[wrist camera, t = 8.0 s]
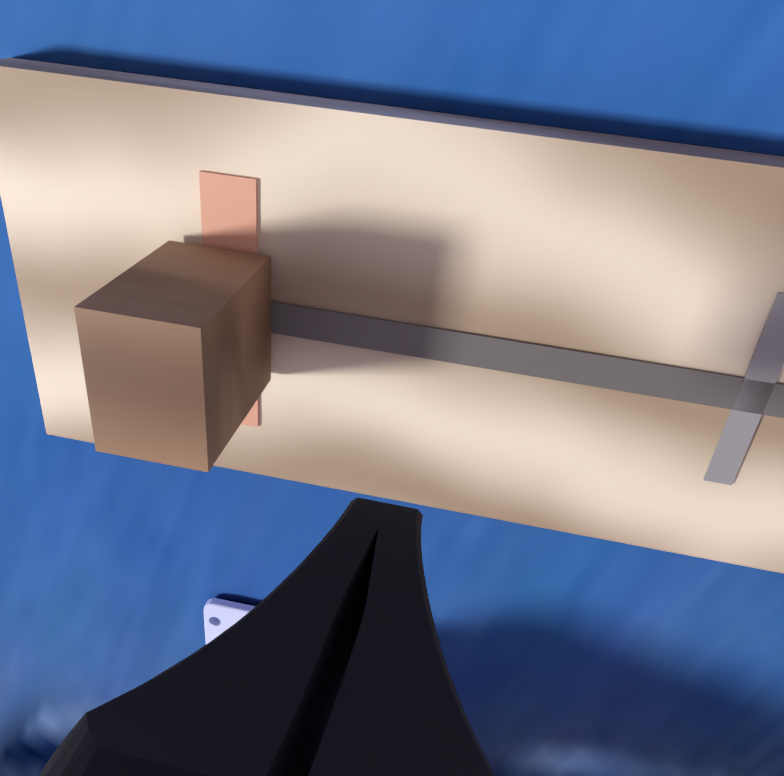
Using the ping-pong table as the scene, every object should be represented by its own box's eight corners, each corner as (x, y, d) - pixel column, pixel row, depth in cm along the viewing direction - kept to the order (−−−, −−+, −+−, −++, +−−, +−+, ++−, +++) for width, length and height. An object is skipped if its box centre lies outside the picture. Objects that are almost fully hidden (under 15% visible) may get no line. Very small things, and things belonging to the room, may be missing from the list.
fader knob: (270, 379, 22) (208, 472, 18) (178, 363, 22) (95, 451, 18) (271, 255, 20) (200, 328, 16) (169, 240, 20) (73, 306, 16)
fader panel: (866, 558, 23) (886, 594, 22) (70, 412, 26) (44, 435, 25) (1081, 194, 17) (1128, 213, 16) (10, 57, 20) (-28, 63, 19)
